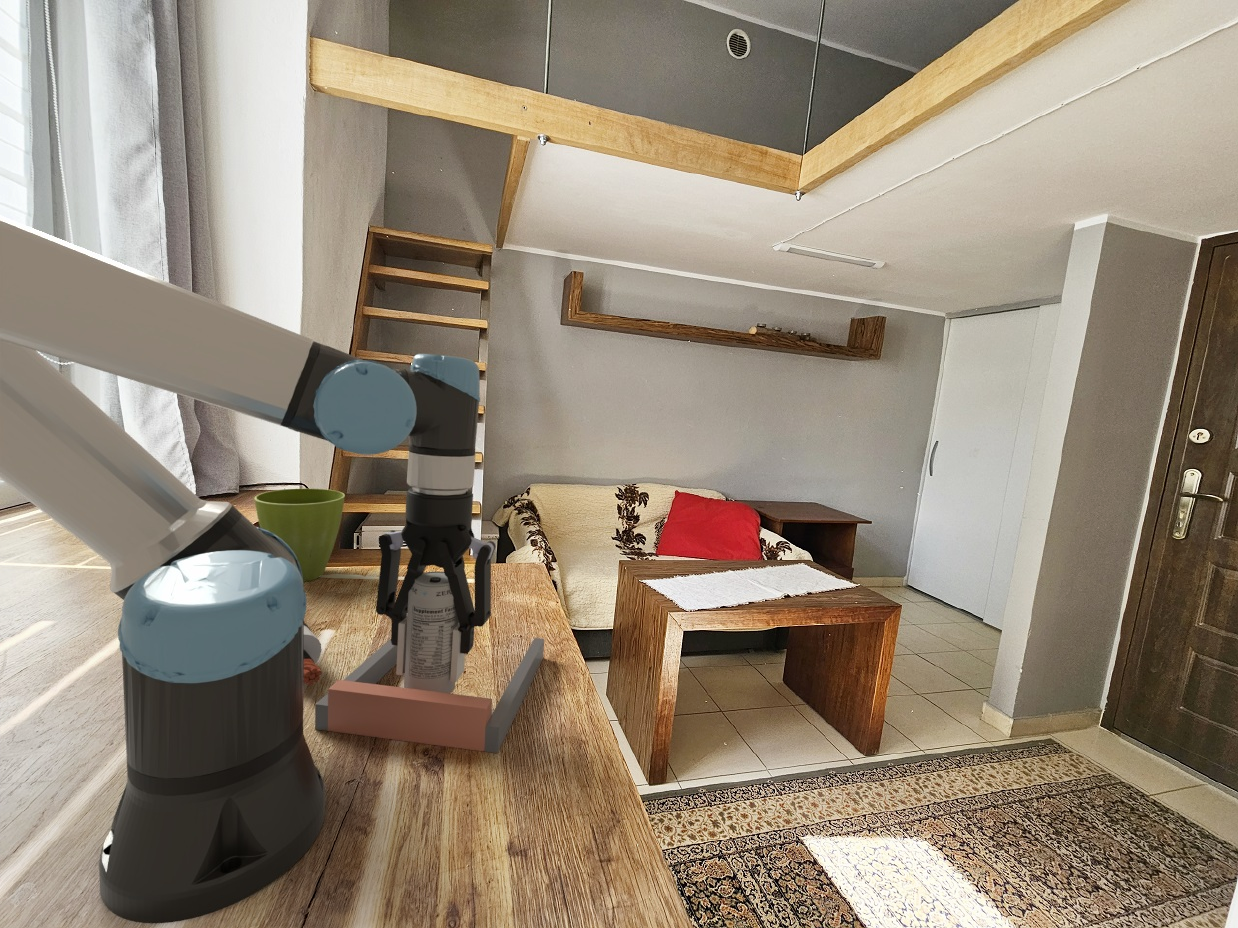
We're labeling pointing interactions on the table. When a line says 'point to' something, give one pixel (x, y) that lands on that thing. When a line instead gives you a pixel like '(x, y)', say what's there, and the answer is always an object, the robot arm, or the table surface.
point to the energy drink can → (430, 634)
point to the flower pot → (303, 523)
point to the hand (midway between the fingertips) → (430, 672)
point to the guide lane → (422, 706)
